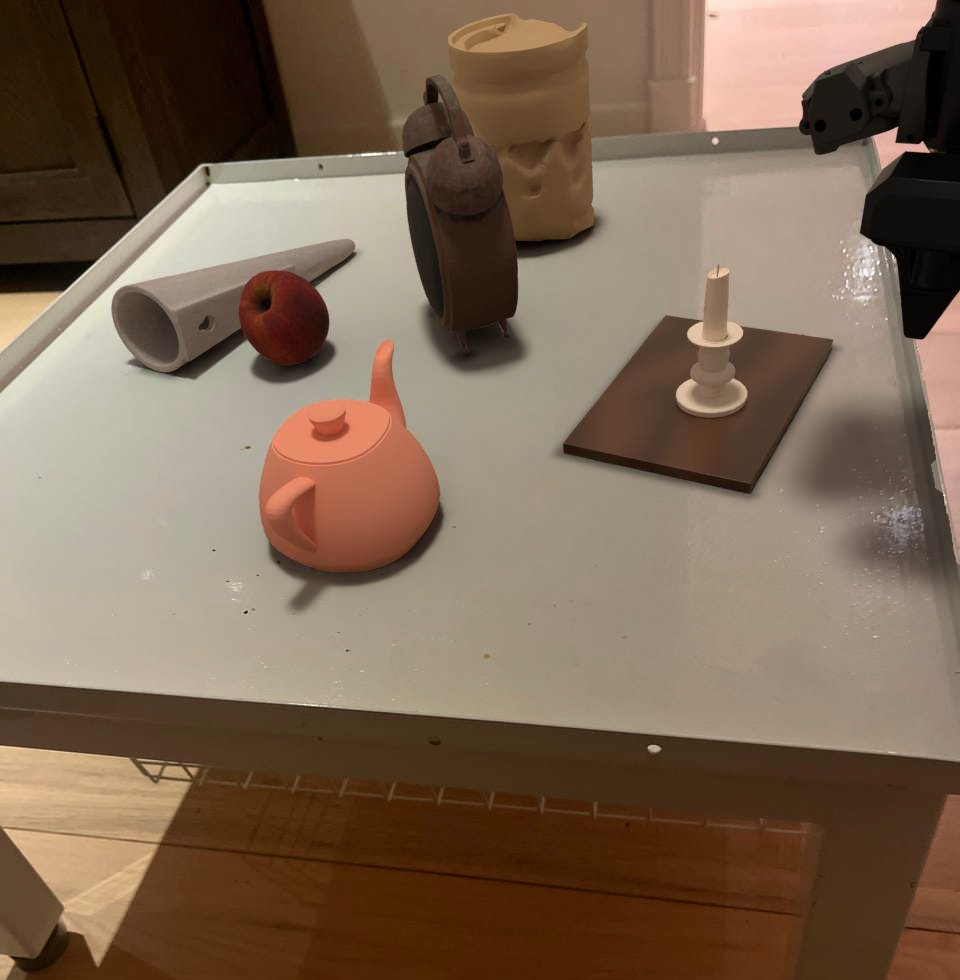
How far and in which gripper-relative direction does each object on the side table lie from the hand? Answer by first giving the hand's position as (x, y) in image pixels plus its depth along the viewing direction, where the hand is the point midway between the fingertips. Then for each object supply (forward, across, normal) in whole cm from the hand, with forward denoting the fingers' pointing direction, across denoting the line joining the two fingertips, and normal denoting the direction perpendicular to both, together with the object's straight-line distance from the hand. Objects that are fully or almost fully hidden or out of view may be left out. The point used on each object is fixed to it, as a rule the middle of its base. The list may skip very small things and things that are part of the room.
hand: (932, 299), depth 57 cm
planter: (+12, -6, -62) cm, 63 cm away
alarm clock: (+12, -8, -38) cm, 41 cm away
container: (+12, -28, -42) cm, 52 cm away
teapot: (+12, +18, -32) cm, 39 cm away
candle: (+11, -3, -14) cm, 18 cm away
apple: (+12, +1, -51) cm, 52 cm away
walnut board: (+12, -4, -15) cm, 20 cm away
